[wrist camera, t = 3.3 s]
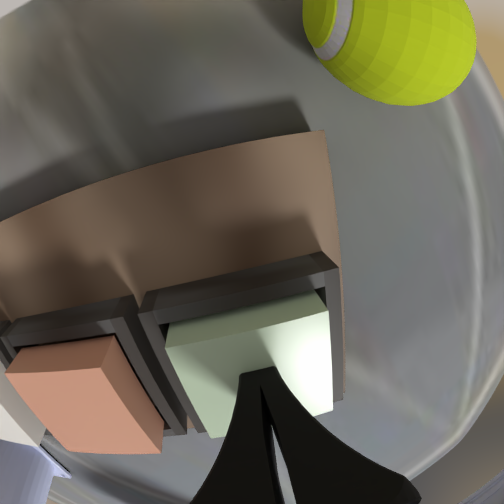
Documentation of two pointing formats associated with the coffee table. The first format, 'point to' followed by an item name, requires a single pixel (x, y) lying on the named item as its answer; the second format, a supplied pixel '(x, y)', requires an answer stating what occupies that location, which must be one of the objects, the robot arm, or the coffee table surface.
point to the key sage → (253, 354)
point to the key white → (17, 416)
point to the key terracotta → (88, 397)
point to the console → (175, 256)
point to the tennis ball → (393, 46)
